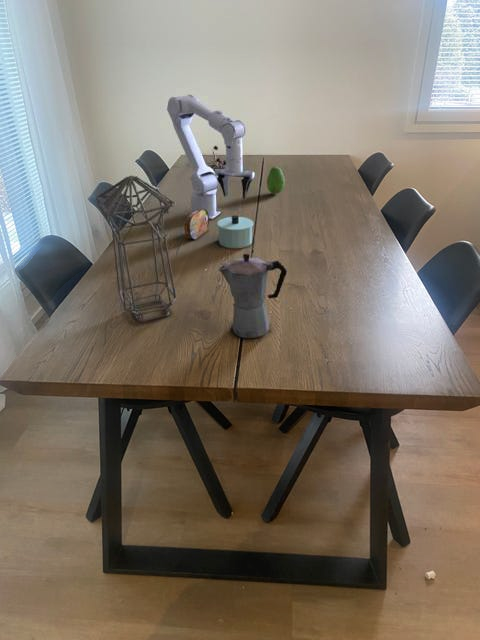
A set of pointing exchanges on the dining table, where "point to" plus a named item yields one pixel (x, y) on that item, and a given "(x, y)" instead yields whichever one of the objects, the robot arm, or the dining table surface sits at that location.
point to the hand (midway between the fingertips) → (235, 196)
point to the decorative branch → (218, 160)
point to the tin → (196, 223)
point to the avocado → (275, 180)
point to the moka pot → (250, 293)
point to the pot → (235, 238)
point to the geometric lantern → (167, 204)
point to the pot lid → (235, 223)
